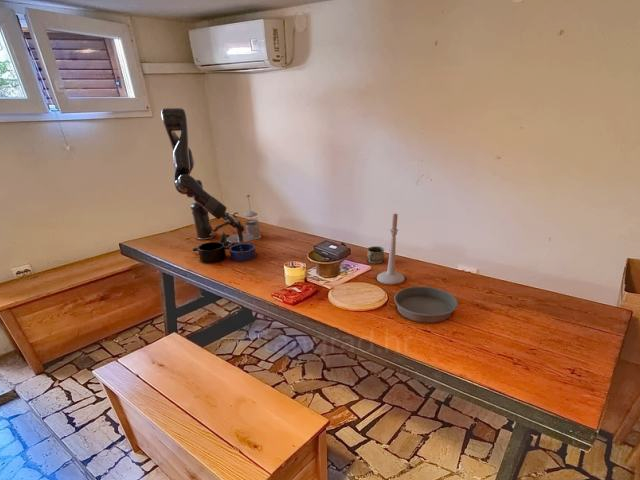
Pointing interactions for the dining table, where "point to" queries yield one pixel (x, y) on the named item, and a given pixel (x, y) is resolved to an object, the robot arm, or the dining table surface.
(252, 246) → the blue round bowl
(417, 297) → the cake pan
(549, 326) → the dining table surface
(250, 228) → the french press
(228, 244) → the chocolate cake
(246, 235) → the lid
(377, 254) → the vessel
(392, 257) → the candlestick
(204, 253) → the pot
